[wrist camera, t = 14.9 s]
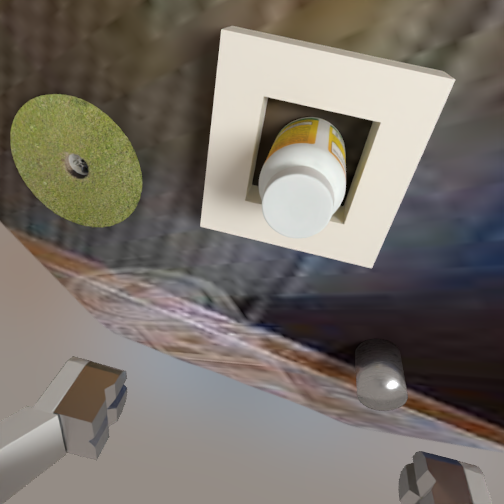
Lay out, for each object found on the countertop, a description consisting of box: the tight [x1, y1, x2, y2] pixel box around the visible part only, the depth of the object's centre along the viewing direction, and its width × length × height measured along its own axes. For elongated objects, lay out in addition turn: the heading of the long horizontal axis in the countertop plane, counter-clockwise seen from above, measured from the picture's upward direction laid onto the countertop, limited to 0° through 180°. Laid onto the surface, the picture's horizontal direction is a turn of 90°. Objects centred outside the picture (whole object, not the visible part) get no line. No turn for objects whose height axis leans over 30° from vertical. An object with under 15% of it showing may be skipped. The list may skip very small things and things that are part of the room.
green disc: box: [10, 94, 142, 227], centre depth 32 cm, size 11×11×2 cm
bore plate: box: [200, 26, 455, 268], centre depth 28 cm, size 14×14×3 cm
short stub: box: [355, 339, 408, 411], centre depth 37 cm, size 4×4×5 cm
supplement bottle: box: [259, 117, 346, 238], centre depth 25 cm, size 5×5×10 cm
